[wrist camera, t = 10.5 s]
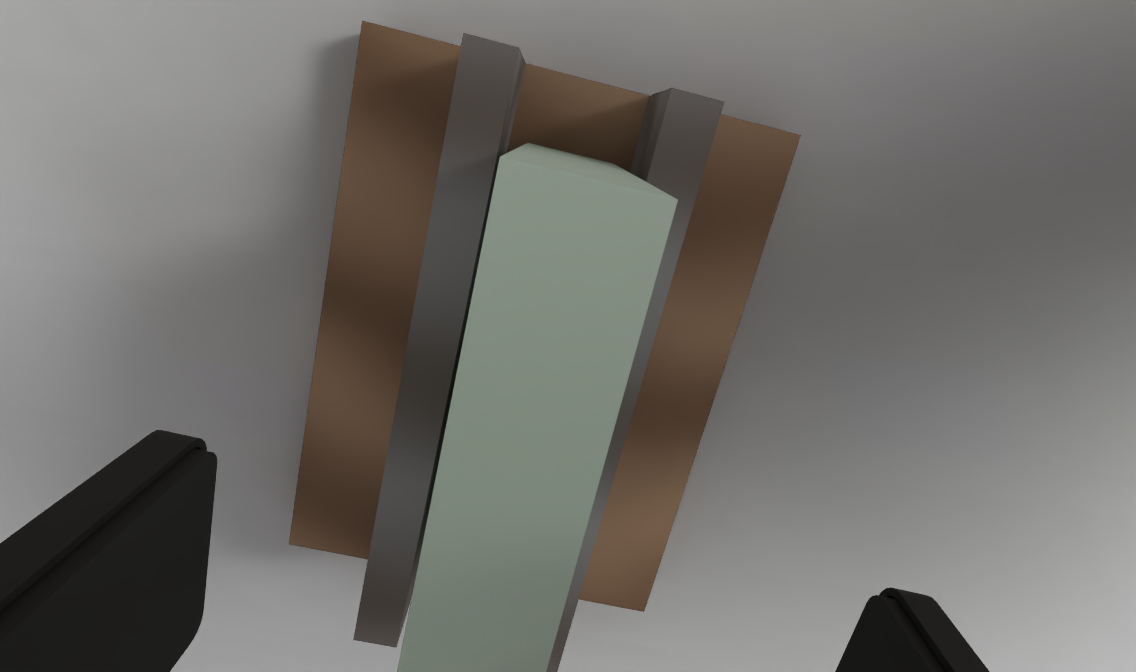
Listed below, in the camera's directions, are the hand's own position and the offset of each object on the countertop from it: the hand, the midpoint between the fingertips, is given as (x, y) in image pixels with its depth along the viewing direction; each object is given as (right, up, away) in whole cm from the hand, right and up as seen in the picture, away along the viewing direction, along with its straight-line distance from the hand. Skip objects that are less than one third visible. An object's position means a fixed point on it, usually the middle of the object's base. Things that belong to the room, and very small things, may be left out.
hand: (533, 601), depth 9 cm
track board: (-1, +3, +12) cm, 13 cm away
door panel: (-1, +3, +11) cm, 11 cm away
